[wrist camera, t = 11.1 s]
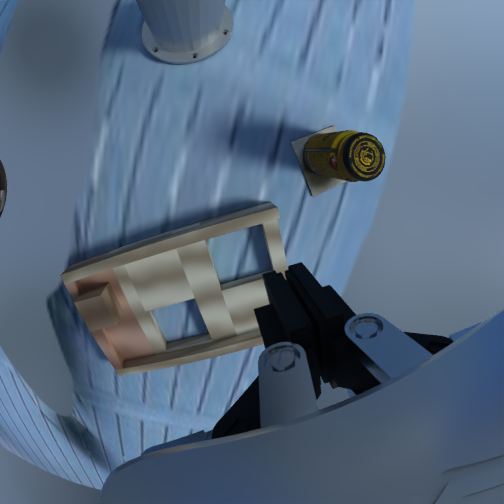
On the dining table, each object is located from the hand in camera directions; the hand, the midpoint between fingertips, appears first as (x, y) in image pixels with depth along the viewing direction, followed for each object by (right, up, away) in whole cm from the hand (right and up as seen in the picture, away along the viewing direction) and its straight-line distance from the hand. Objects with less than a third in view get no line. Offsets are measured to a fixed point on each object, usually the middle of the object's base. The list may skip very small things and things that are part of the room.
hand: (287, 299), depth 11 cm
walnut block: (-24, -5, +25) cm, 35 cm away
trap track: (-12, -5, +29) cm, 32 cm away
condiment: (+9, +15, +25) cm, 31 cm away
